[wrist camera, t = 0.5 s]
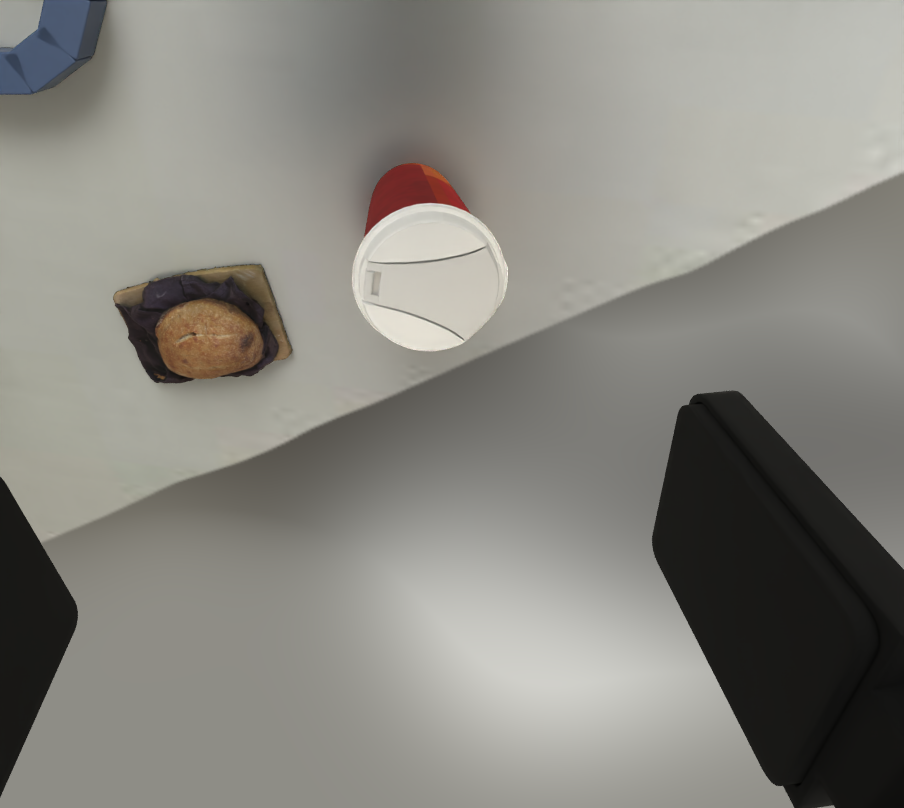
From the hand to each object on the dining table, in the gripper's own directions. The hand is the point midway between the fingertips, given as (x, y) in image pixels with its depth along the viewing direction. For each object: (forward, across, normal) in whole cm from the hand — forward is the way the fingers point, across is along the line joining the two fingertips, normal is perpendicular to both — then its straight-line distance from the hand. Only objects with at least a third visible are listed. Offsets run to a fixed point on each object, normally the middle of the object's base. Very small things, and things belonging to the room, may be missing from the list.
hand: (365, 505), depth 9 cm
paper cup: (+35, -3, +6) cm, 36 cm away
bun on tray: (+35, +13, +14) cm, 40 cm away
